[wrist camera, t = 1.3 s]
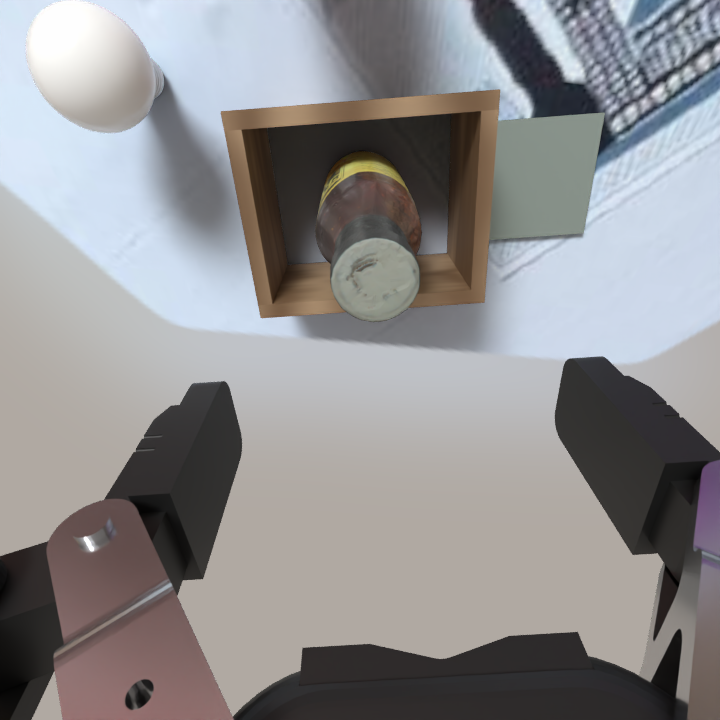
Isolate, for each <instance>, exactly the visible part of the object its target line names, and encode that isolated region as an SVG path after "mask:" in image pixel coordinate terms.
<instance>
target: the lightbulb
mask: <svg viewBox="0 0 720 720" xmlns="http://www.w3.org/2000/svg"><path fill="white" fill-rule="evenodd" d="M25 50H26V60H27V64H28V68H29V71H30V74H31V77H32V79H33V81H34V83H35V85H36V87H37V88H38V90H39V92H40V93H41V95H42V96H43V97H44V99H45V100H46V101H47V102H48V103H49V105H50V106H51V107H52V108H53V109H54V110H56V111H57V112H58V113H59V114H60V115H62V116H63V117H64V118H66V119H67V120H69V121H70V122H72V123H74V124H76V125H78V126H80V127H82V128H85V129H87V130H91V131H94V132H100V133H118V132H122V131H126V130H128V129H131V128H133V127H134V126H136V125H137V124H139V123H140V122H141V121H142V120H143V119H144V118H145V117H146V115H147V114H148V112H149V111H150V109H151V107H152V104H153V101H154V98H156V97H158V96H159V95H160V94H161V92H162V90H163V87H164V77H163V73H162V71H161V69H160V67H159V66H158V64H157V63H156V62H155V61H154V60H153V59H151V58H150V56H149V54H148V52H147V50H146V48H145V46H144V44H143V43H142V41H141V40H140V38H139V37H138V35H137V34H136V33H135V32H134V31H133V29H132V28H131V27H130V26H129V25H128V24H127V23H126V22H125V21H123V20H122V19H121V18H120V17H118V16H117V15H116V14H114V13H113V12H111V11H109V10H108V9H106V8H104V7H102V6H99V5H97V4H94V3H91V2H87V1H81V0H63V1H59V2H55V3H53V4H51V5H49V6H47V7H45V8H44V9H42V10H41V11H40V12H39V13H38V14H37V15H36V17H35V18H34V19H33V21H32V23H31V25H30V27H29V29H28V33H27V37H26V45H25Z"/></svg>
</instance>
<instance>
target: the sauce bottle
mask: <svg viewBox="0 0 720 720" xmlns="http://www.w3.org/2000/svg"><path fill="white" fill-rule="evenodd" d="M421 234H422V231H421V223H420V218H419V216H418V212H417V209H416V206H415V203H414V200H413V198H412V196H411V194H410V193H409V191H408V189H407V187H406V185H405V183H404V181H403V180H402V178H401V176H400V174H399V172H398V171H397V169H396V167H395V166H394V165H393V164H392V163H391V162H390V161H388V160H387V159H386V158H384V157H383V156H381V155H378V154H376V153H373V152H368V151H357V152H352V153H351V154H348V155H346V156H344V157H343V158H341V159H340V160H339V161H337V162H336V163H335V164H334V166H333V167H332V168H331V170H330V171H329V173H328V175H327V178H326V181H325V185H324V189H323V193H322V197H321V201H320V205H319V210H318V216H317V220H316V239H317V244H318V247H319V249H320V251H321V253H322V255H323V256H324V258H325V259H326V260H327V261H328V262H329V263H330V264H331V266H330V284H331V289H332V292H333V294H334V297H335V299H336V301H337V302H338V304H339V305H340V306H341V308H342V309H343V310H344V311H346V312H347V313H349V314H350V315H352V316H354V317H355V318H358V319H360V320H364V321H370V322H381V321H386V320H389V319H392V318H394V317H396V316H398V315H400V314H401V313H402V312H403V311H405V310H407V309H408V307H409V306H410V305H411V304H412V303H413V301H414V299H415V298H416V296H417V293H418V291H419V287H420V268H419V265H418V262H417V259H416V257H415V256H416V254H417V251H418V249H419V246H420V241H421Z"/></svg>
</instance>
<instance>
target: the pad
mask: <svg viewBox="0 0 720 720" xmlns="http://www.w3.org/2000/svg"><path fill="white" fill-rule="evenodd" d="M604 115H605V113H593V114H580V115H567V116H554V117H541V118H528V119H515V120H502V121H498V127H497V140H496V153H495V167H494V180H493V194H492V207H491V221H490V234H489V240H498V239H511V238H525V237H539V236H553V235H566V234H580V233H584V227H585V222H586V216H587V211H588V205H589V199H590V194H591V188H592V182H593V177H594V171H595V165H596V160H597V154H598V149H599V143H600V137H601V132H602V126H603V120H604Z"/></svg>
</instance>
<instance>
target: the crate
mask: <svg viewBox="0 0 720 720" xmlns="http://www.w3.org/2000/svg"><path fill="white" fill-rule="evenodd" d="M499 100H500V90H487V91H475V92H462V93H449V94H436V95H424V96H411V97H398V98H386V99H373V100H360V101H348V102H335V103H322V104H310V105H297V106H284V107H272V108H259V109H246V110H233V111H221V116H222V121H223V127H224V132H225V137H226V142H227V147H228V152H229V157H230V162H231V168H232V173H233V178H234V183H235V188H236V193H237V198H238V204H239V209H240V214H241V219H242V224H243V229H244V234H245V240H246V245H247V250H248V255H249V260H250V265H251V270H252V275H253V281H254V286H255V291H256V296H257V301H258V306H259V311H260V317H261V318H271V317H285V316H300V315H314V314H328V313H342V312H346V311H344V310H343V309H342V308H341V306H340V305H339V304H338V302H337V301H336V299H335V297H334V294H333V292H332V289H331V284H330V266H331V264H330V263H329V262H319V263H306V264H292V265H288V262H287V256H286V249H285V242H284V236H283V229H282V223H281V216H280V210H279V203H278V196H277V190H276V183H275V177H274V170H273V163H272V157H271V150H270V144H269V137H268V131H267V128H269V127H282V126H295V125H308V124H321V123H334V122H346V121H359V120H372V119H385V118H398V117H410V116H423V115H436V114H449V113H451V132H450V167H449V203H448V238H447V253H444V254H430V255H416V256H415V257H416V259H417V262H418V265H419V268H420V287H419V291H418V293H417V296H416V298H415V299H414V301H413V303H412V304H411V305H410V306H409V307H408V308H413V307H428V306H442V305H456V304H470V303H484V301H485V288H486V274H487V261H488V247H489V234H490V221H491V207H492V194H493V180H494V167H495V153H496V140H497V127H498V113H499Z"/></svg>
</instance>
